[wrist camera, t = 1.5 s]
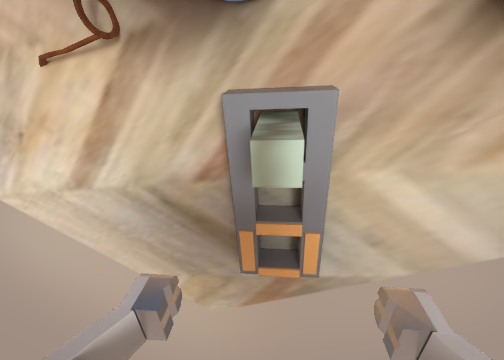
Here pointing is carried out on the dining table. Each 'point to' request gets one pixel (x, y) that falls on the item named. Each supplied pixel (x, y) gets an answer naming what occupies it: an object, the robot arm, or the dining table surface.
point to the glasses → (88, 24)
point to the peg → (277, 150)
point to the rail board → (313, 183)
